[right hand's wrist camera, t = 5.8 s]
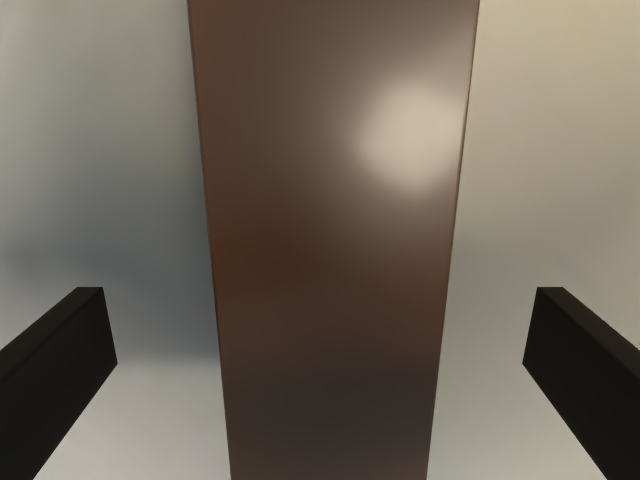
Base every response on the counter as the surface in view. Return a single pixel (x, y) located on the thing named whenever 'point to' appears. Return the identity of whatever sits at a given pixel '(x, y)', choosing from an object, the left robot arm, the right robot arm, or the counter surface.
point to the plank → (331, 223)
